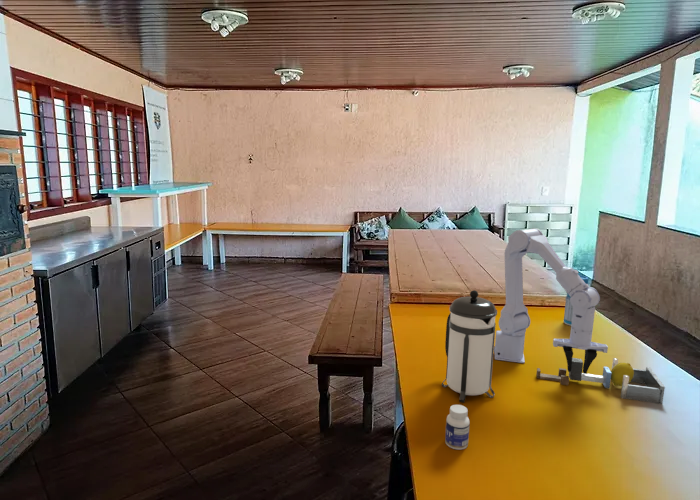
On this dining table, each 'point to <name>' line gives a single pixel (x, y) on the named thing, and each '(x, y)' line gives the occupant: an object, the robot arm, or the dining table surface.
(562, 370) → the track
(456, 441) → the pill bottle
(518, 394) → the dining table surface
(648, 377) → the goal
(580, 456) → the dining table surface
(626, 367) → the lemon
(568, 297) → the beverage bottle
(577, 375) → the rod
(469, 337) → the coffee press
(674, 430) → the dining table surface
